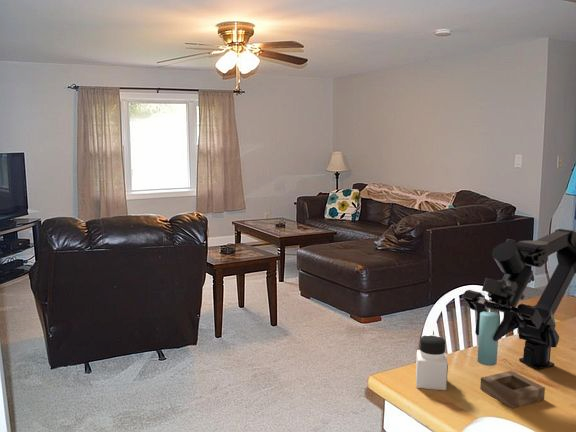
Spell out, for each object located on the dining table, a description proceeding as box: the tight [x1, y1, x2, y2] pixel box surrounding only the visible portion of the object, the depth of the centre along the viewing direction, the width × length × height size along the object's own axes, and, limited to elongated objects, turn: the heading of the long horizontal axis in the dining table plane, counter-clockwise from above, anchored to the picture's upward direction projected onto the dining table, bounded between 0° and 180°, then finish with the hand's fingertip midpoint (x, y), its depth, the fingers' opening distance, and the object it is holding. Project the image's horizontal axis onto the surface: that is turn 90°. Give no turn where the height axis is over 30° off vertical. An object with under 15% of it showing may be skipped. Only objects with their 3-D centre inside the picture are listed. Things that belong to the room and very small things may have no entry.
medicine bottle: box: [415, 334, 449, 391], centre depth 134 cm, size 7×7×12 cm
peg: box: [477, 311, 501, 367], centre depth 130 cm, size 4×4×12 cm
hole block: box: [479, 370, 546, 409], centre depth 129 cm, size 10×10×3 cm
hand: (485, 337), depth 129 cm, fingers closed on peg, 4 cm apart
